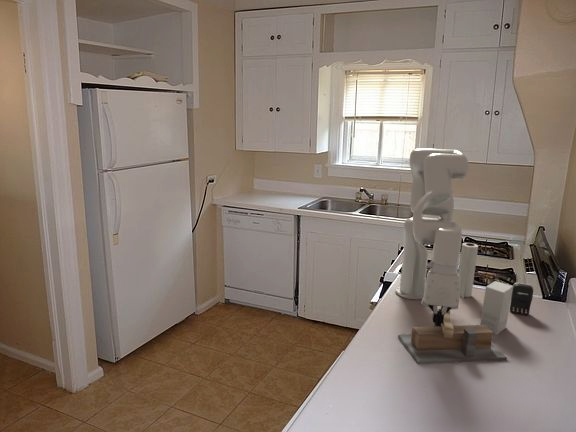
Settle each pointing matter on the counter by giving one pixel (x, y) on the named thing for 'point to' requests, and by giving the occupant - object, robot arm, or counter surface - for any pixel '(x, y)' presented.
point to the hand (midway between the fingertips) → (437, 324)
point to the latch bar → (447, 326)
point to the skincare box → (496, 306)
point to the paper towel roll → (467, 268)
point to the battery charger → (521, 298)
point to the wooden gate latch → (451, 344)
